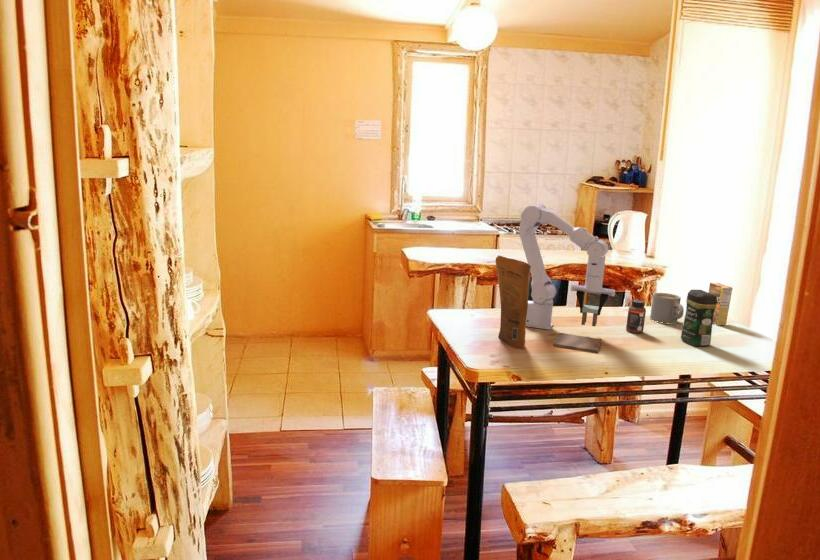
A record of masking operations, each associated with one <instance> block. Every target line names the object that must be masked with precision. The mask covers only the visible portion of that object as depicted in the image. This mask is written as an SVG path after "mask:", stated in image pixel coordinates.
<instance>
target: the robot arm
mask: <svg viewBox="0 0 820 560" xmlns="http://www.w3.org/2000/svg"><path fill="white" fill-rule="evenodd" d="M541 224H551V226H553V227H555V228H557V229H558V230H560V231H562V232H563V233H565V234H566V235H568V236H569V240H570V241H571V242H572V243H573V244H575V245H576V246H578V247H579V248H580V249H582V250H583V251H584V252H585V251H586V253H587V255H588V259H587V263H586V272H585V273H586V274H585V283H584V285H582V284H580V285H578V284H571V285H570V291H571V292H576V293H575V294H576V297H577V300H578V305H579V312H580V314H582V313H583V312H582V308H583V306H584V304H585V303H584V301H585V294H586V293H588V294H595V295H600V296H599V304H598V307H599V309H598V317H599V316H600V315H601V312H602V309H603V307H604V305H605V303H606V302H607V300H608V298H609V297H610V296H611V297H615V295H616V289H611V288H605V287H603V283H604V275H605V268H606V267H605V266H606V262H605V261H606V255H607V254H608V252H609V245H608V243H607V242H606V241H605V240H604V239H599V237H598V236H597V235H595V236H594V235H593V234H591V232H588V229H587V228H586V227H582V226H577V227H575V226H573V225H572V224H571V223H569V221H567V220H566V219H564V218H563V217H562V216H561V215H559V214H557V213H556V212H555V211H553V210H552V209H551V208H549V207H546V205H544V204H535V205H528V206H526V207H525V208H524V209H523V211H522V212H521V214H520V223H519V228H518V234H519V237H520V242H521V245H522V247H523V251H524V255H525V257H526V261H527V262H526V263H528V264H529V265H530V266H531V269H530V275H531V283H530V286H531V293H530V294H531V295H530V296H531V298H532V300H528V309H527V316H526V327H529V328H535V329H536V328H537V329H541V330H548V331H551V329H552V328H553V326H554V323H552V317H553V308H554V307H553V306H554V301H553V298H555V296H556V294H557V289H556V286H555V284H554V283H552V279H551V278H550V276H549V275H548V274H547V271H546V268H545V267H546V266H545V265H544V261H543V258H542V254H541V251H540V250H541V249H540V247H539V244H538V240H537V236H536V234H535V233H536V231H537V229H538V228H539V226H540V225H541Z"/></svg>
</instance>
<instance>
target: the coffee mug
mask: <svg viewBox="0 0 820 560" xmlns="http://www.w3.org/2000/svg"><path fill="white" fill-rule="evenodd" d="M684 310H685V309H684V306H683V304H681V296H679V295H677V294H674V293H673V294H672V293H669V292H668V293H667V292H665V293H664V292H655V293H653V295H652V303H651V309H650V316H649V317H650V318H651V319H652V320H654V321H653V322H655V321H658V322H657V323H659V322H663V323H662V324H664V323H676V324H677V323H678V320H680V319H681V318H682V317H683V316H684V312H685V311H684ZM650 318H649V319H650ZM651 319H650V320H651ZM652 320H651V321H652Z"/></svg>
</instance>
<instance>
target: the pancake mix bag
mask: <svg viewBox="0 0 820 560" xmlns="http://www.w3.org/2000/svg"><path fill="white" fill-rule="evenodd" d="M495 267H496V272H497V283H498V289H499V291H498V292H499V300H500V301H499V302H500V328H499V332H498V338H499V339H500V340H502V341H503V342H505V343H506V344H508V345H509V346H510V347H513V348H517V349H523V350H525V346H526V333H527V332H526V331H527V326H526V316H527V309H528V301H529V295H530V294H529V291H530V290H529V289H530V275H531V272H530V269H531V266H530V265H529V264H528V262H524V261H522V260H518V259H514V258H508V257H506V256H503V255H497V256H496V257H495Z"/></svg>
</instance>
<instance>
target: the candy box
mask: <svg viewBox="0 0 820 560" xmlns="http://www.w3.org/2000/svg"><path fill="white" fill-rule="evenodd" d="M707 292H708V293H710V294H713V295H715V296H716V297H717V305H716V308H715V311H714V315H713V323H714V324H713V325H715V324H716V325H715V326H717V325H726V326H727V321H728V316H729V310H730V304H731V298H732V294H733V287H732V286H729V285H725V284H722V283H719V282H709V288H708V291H707Z"/></svg>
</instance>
